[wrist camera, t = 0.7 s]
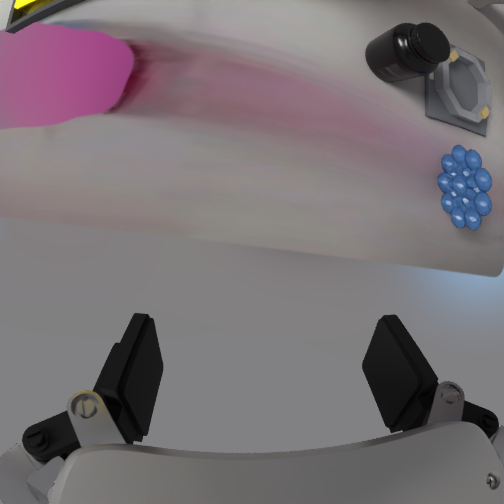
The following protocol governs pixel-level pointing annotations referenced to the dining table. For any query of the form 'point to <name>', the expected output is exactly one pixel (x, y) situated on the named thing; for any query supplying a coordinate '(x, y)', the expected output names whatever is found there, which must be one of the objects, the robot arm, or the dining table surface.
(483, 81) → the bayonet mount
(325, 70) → the dining table surface
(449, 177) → the blue petal flower
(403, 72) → the supplement bottle
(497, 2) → the beer glass
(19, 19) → the shallow dark tray
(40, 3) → the element tile
